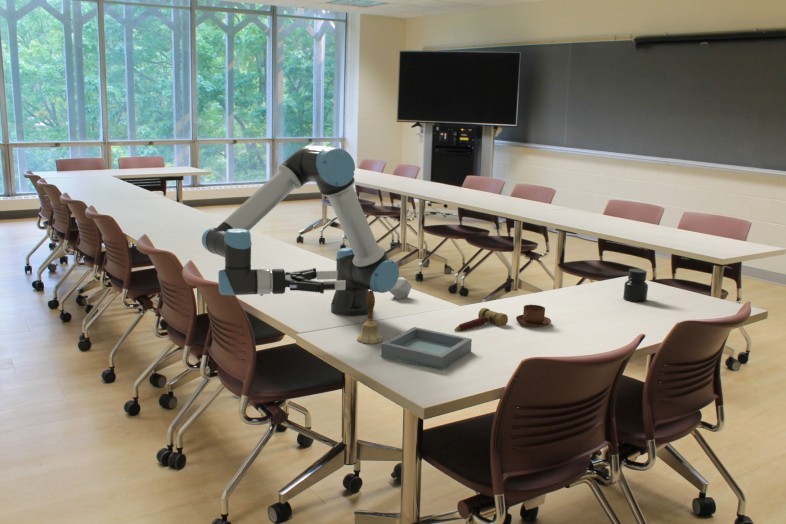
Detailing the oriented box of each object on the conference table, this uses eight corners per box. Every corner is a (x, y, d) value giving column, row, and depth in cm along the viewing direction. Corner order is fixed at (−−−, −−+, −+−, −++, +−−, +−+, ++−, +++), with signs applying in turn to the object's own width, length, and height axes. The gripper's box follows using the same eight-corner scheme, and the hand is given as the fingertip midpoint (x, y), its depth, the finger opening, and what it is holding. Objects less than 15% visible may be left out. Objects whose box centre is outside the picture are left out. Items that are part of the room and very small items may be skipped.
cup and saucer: (547, 331, 239) (549, 314, 238) (512, 326, 243) (513, 309, 242) (552, 322, 250) (554, 305, 249) (519, 317, 254) (520, 301, 253)
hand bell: (353, 337, 226) (354, 288, 223) (377, 334, 230) (378, 287, 226) (362, 345, 219) (363, 295, 215) (386, 342, 222) (388, 293, 219)
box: (413, 338, 226) (414, 326, 225) (470, 351, 216) (471, 338, 216) (381, 356, 209) (381, 343, 209) (441, 370, 200) (442, 357, 199)
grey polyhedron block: (413, 302, 272) (417, 279, 276) (397, 293, 267) (402, 270, 271) (398, 305, 278) (402, 282, 282) (383, 297, 273) (387, 274, 277)
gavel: (465, 327, 231) (444, 319, 238) (465, 340, 232) (444, 332, 239) (508, 312, 244) (486, 306, 251) (508, 325, 245) (486, 318, 252)
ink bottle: (637, 296, 289) (641, 267, 287) (651, 302, 281) (655, 272, 279) (617, 297, 286) (620, 268, 284) (631, 303, 278) (634, 273, 275)
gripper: (267, 283, 225) (333, 281, 230) (275, 304, 201) (348, 302, 207) (267, 260, 223) (334, 259, 229) (275, 279, 200) (349, 277, 205)
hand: (341, 279), depth 218 cm, fingers open, 13 cm apart
